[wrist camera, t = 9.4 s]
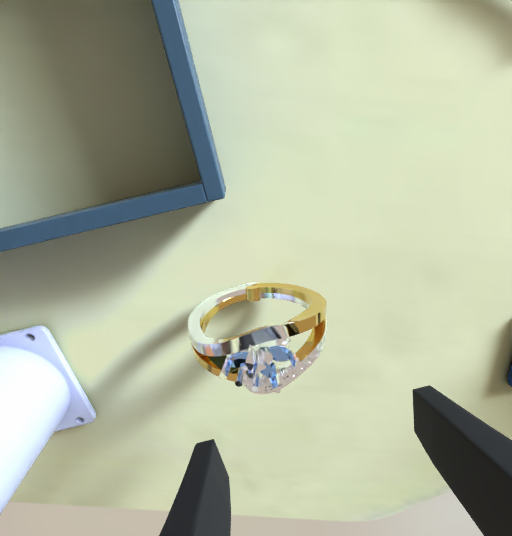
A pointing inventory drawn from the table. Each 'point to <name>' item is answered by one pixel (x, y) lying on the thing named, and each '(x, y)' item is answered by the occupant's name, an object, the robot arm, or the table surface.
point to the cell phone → (510, 377)
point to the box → (160, 200)
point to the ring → (260, 338)
